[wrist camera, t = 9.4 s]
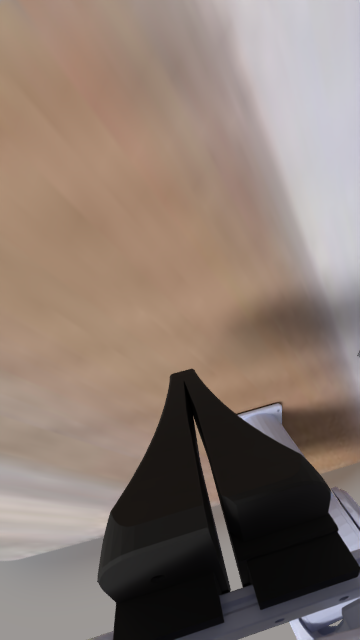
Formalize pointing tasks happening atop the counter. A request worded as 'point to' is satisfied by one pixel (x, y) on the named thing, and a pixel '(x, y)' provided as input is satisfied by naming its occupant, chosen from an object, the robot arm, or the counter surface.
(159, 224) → the counter surface
